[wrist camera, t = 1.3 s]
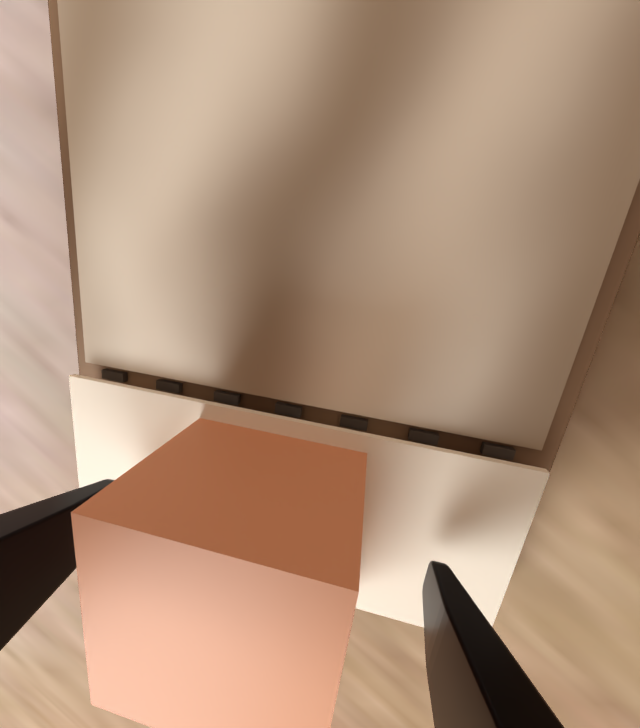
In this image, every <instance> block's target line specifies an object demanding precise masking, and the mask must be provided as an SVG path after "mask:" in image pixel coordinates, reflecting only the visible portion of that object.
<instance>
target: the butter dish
mask: <svg viewBox="0 0 640 728" xmlns="http://www.w3.org/2000/svg"><path fill="white" fill-rule="evenodd" d="M69 384H70V395H71V406H72V416H73V427H74V437H75V448H76V459H77V469H78V480H79V488H81V487H84V486H87V485H90V484H93V483H96V482H99V481H102V480H105V479H112V480H114V481H113V482H112V483H110V484H109V485H108V486H106V487H105V488H103V489H102V490H101V491H99V492H98V493H97V494H95V495H94V496H92V497H91V498H90V499H88V500H87V501H86V502H84V503H83V504H82V505H80V506H79V507H77V508H76V509H75V510H73V511H72V512H71V519H72V529H73V538H74V548H75V557H76V567H77V576H78V586H79V595H80V605H81V614H82V624H83V633H84V643H85V652H86V662H87V671H88V680H89V690H90V699H91V705H93V706H96V707H99V708H101V709H104V710H107V711H109V712H112V713H115V714H117V715H120V716H123V717H125V718H128V719H131V720H133V721H136V722H139V723H141V724H144V725H147V726H149V727H152V728H330V726H331V721H332V716H333V712H334V707H335V702H336V698H337V693H338V688H339V683H340V679H341V674H342V669H343V664H344V660H345V655H346V650H347V646H348V641H349V636H350V631H351V627H352V622H353V617H354V612H355V608H357V609H360V610H364V611H367V612H371V613H374V614H378V615H381V616H385V617H388V618H392V619H395V620H399V621H403V622H406V623H410V624H413V625H417V626H420V627H424V617H423V598H422V589H423V583H424V579H425V575H426V572H427V568H428V565H429V563H430V561H437V562H441V563H445V564H447V565H448V566H449V567H450V569H451V570H452V571H453V573H454V574H455V576H456V577H457V578H458V580H459V581H460V583H461V584H462V585H463V587H464V588H465V590H466V591H467V592H468V594H469V595H470V597H471V598H472V599H473V601H474V602H475V604H476V605H477V606H478V608H479V609H480V611H481V612H482V613H483V615H484V616H485V618H486V619H487V620H488V622H489V623H490V625H491V626H493V624H494V621H495V618H496V616H497V613H498V610H499V608H500V605H501V603H502V600H503V597H504V595H505V592H506V589H507V587H508V584H509V581H510V579H511V576H512V573H513V571H514V568H515V565H516V563H517V560H518V558H519V555H520V552H521V550H522V547H523V544H524V542H525V539H526V536H527V534H528V531H529V528H530V526H531V523H532V520H533V518H534V515H535V513H536V510H537V507H538V505H539V502H540V499H541V497H542V494H543V491H544V489H545V486H546V483H547V481H548V478H549V476H550V473H549V471H548V470H547V469H544V468H539V467H534V466H529V465H524V464H519V463H514V462H509V461H505V460H500V459H495V458H490V457H485V456H480V455H475V454H470V453H465V452H460V451H455V450H450V449H445V448H440V447H435V446H430V445H425V444H420V443H415V442H410V441H405V440H400V439H395V438H390V437H385V436H380V435H375V434H370V433H365V432H360V431H355V430H350V429H345V428H340V427H335V426H330V425H325V424H320V423H315V422H311V421H306V420H301V419H296V418H291V417H286V416H281V415H276V414H271V413H266V412H261V411H256V410H251V409H246V408H241V407H236V406H231V405H226V404H221V403H216V402H211V401H206V400H201V399H196V398H191V397H186V396H181V395H176V394H171V393H166V392H161V391H156V390H151V389H146V388H141V387H136V386H131V385H126V384H121V383H117V382H112V381H107V380H102V379H97V378H92V377H87V376H82V375H77V374H73V375H70V376H69Z"/></svg>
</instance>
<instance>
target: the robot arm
mask: <svg viewBox="0 0 640 728" xmlns="http://www.w3.org/2000/svg"><path fill="white" fill-rule="evenodd" d="M113 481H114V480H112V479H105V480H102V481H99V482H96V483H93V484H90V485H87V486H84V487H81V488H78V489H75V490H72V491H69V492H66V493H63V494H60V495H57V496H54V497H51V498H48V499H45V500H42V501H39V502H36V503H33V504H30V505H27V506H24V507H21V508H18V509H15V510H12V511H9V512H6V513H3V514H0V651H1V649H2V648H3V647H4V646H5V645H6V644H7V643H8V642H9V641H10V640H11V639H12V637H13V636H14V635H15V634H16V633H17V632H18V631H19V630H20V629H21V628H22V627H23V625H24V624H25V623H26V622H27V621H28V620H29V619H30V618H31V617H32V616H33V615H34V613H35V612H36V611H37V610H38V609H39V608H40V607H41V606H42V605H43V604H44V603H45V601H46V600H47V599H48V598H49V597H50V596H51V595H52V594H53V593H54V592H55V591H56V589H57V588H58V587H59V586H60V585H61V584H62V583H63V582H64V581H65V580H66V579H67V577H68V576H69V575H70V574H71V573H72V572H73V571H74V570H75V569H76V557H75V548H74V538H73V529H72V519H71V512H72V511H73V510H75V509H76V508H77V507H79V506H80V505H82V504H83V503H84V502H86V501H87V500H88V499H90V498H91V497H92V496H94V495H95V494H97V493H98V492H99V491H101V490H102V489H103V488H105V487H106V486H108V485H109V484H110V483H112V482H113ZM422 598H423V617H424V636H425V654H426V669H427V677H428V684H429V691H430V698H431V705H432V712H433V719H434V726H435V728H564V727H563V725H562V724H561V722H560V721H559V720H558V718H557V717H556V715H555V714H554V713H553V711H552V710H551V708H550V707H549V706H548V704H547V703H546V701H545V700H544V699H543V697H542V696H541V694H540V693H539V692H538V690H537V689H536V687H535V686H534V685H533V683H532V682H531V680H530V679H529V678H528V676H527V675H526V673H525V672H524V671H523V669H522V668H521V666H520V665H519V664H518V662H517V661H516V659H515V658H514V657H513V655H512V654H511V652H510V651H509V650H508V648H507V647H506V646H505V644H504V643H503V641H502V640H501V639H500V637H499V636H498V634H497V633H496V632H495V630H494V629H493V627H492V626H491V625H490V623H489V622H488V620H487V619H486V618H485V616H484V615H483V613H482V612H481V611H480V609H479V608H478V606H477V605H476V604H475V602H474V601H473V599H472V598H471V597H470V595H469V594H468V592H467V591H466V590H465V588H464V587H463V585H462V584H461V583H460V581H459V580H458V578H457V577H456V576H455V574H454V573H453V571H452V570H451V569H450V567H449V566H448V565H447V564H445V563H441V562H437V561H430V563H429V565H428V568H427V572H426V575H425V579H424V583H423V589H422Z"/></svg>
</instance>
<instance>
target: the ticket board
mask: <svg viewBox="0 0 640 728" xmlns="http://www.w3.org/2000/svg"><path fill="white" fill-rule="evenodd" d="M48 8H49V20H50V32H51V44H52V55H53V67H54V79H55V91H56V103H57V115H58V126H59V138H60V150H61V162H62V174H63V186H64V198H65V209H66V221H67V233H68V245H69V257H70V269H71V280H72V292H73V304H74V316H75V328H76V340H77V352H78V363H79V375H82V376H87V377H92V378H97V379H102V380H107V381H112V382H117V383H121V384H126V385H131V386H136V387H141V388H146V389H151V390H156V391H161V392H166V393H171V394H176V395H181V396H186V397H191V398H196V399H201V400H206V401H211V402H216V403H221V404H226V405H231V406H236V407H241V408H246V409H251V410H256V411H261V412H266V413H271V414H276V415H281V416H286V417H291V418H296V419H301V420H306V421H311V422H315V423H320V424H325V425H330V426H335V427H340V428H345V429H350V430H355V431H360V432H365V433H370V434H375V435H380V436H385V437H390V438H395V439H400V440H405V441H410V442H415V443H420V444H425V445H430V446H435V447H440V448H445V449H450V450H455V451H460V452H465V453H470V454H475V455H480V456H485V457H490V458H495V459H500V460H505V461H509V462H514V463H519V464H524V465H529V466H534V467H539V468H544V469H547V470H548V471H549V473H550V470H551V467H552V465H553V462H554V460H555V457H556V454H557V452H558V449H559V446H560V444H561V441H562V438H563V436H564V433H565V430H566V428H567V425H568V422H569V420H570V417H571V414H572V412H573V409H574V406H575V404H576V401H577V398H578V396H579V393H580V391H581V388H582V385H583V383H584V380H585V377H586V375H587V372H588V369H589V367H590V364H591V361H592V359H593V356H594V353H595V351H596V348H597V345H598V343H599V340H600V337H601V335H602V332H603V330H604V327H605V324H606V322H607V319H608V316H609V314H610V311H611V308H612V306H613V303H614V300H615V298H616V295H617V292H618V290H619V287H620V284H621V282H622V279H623V276H624V274H625V271H626V268H627V266H628V263H629V261H630V258H631V255H632V253H633V250H634V247H635V245H636V242H637V239H638V237H639V234H640V0H48Z"/></svg>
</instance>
